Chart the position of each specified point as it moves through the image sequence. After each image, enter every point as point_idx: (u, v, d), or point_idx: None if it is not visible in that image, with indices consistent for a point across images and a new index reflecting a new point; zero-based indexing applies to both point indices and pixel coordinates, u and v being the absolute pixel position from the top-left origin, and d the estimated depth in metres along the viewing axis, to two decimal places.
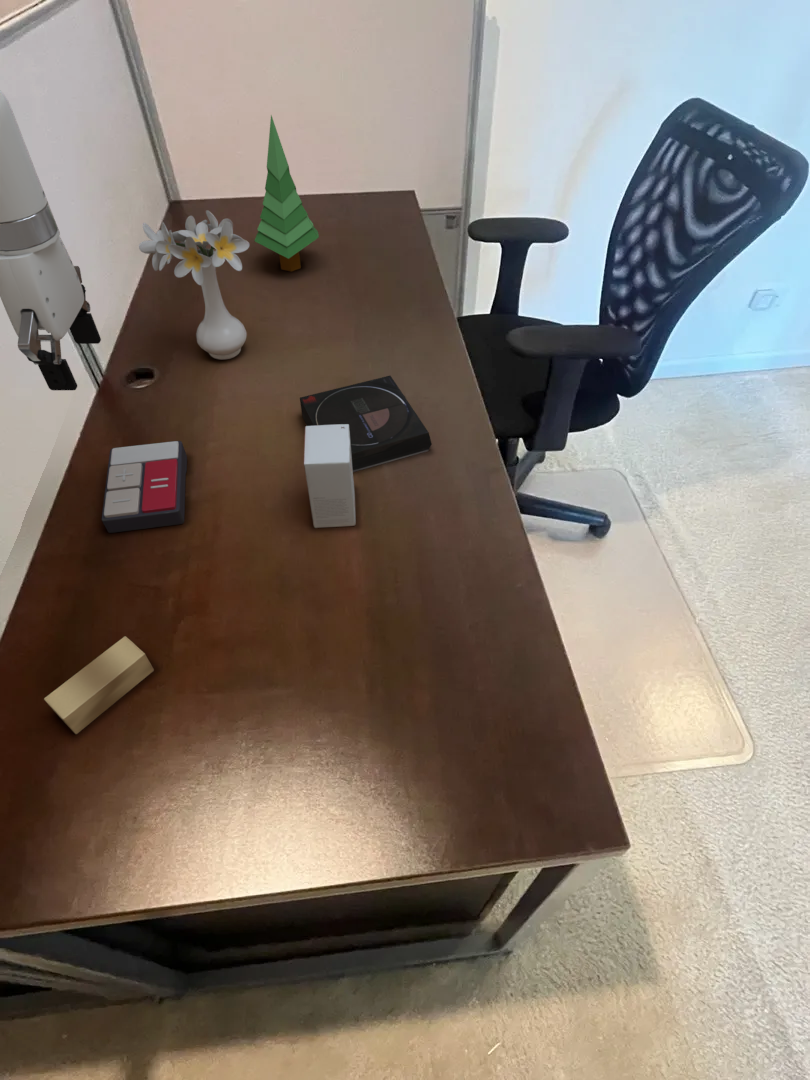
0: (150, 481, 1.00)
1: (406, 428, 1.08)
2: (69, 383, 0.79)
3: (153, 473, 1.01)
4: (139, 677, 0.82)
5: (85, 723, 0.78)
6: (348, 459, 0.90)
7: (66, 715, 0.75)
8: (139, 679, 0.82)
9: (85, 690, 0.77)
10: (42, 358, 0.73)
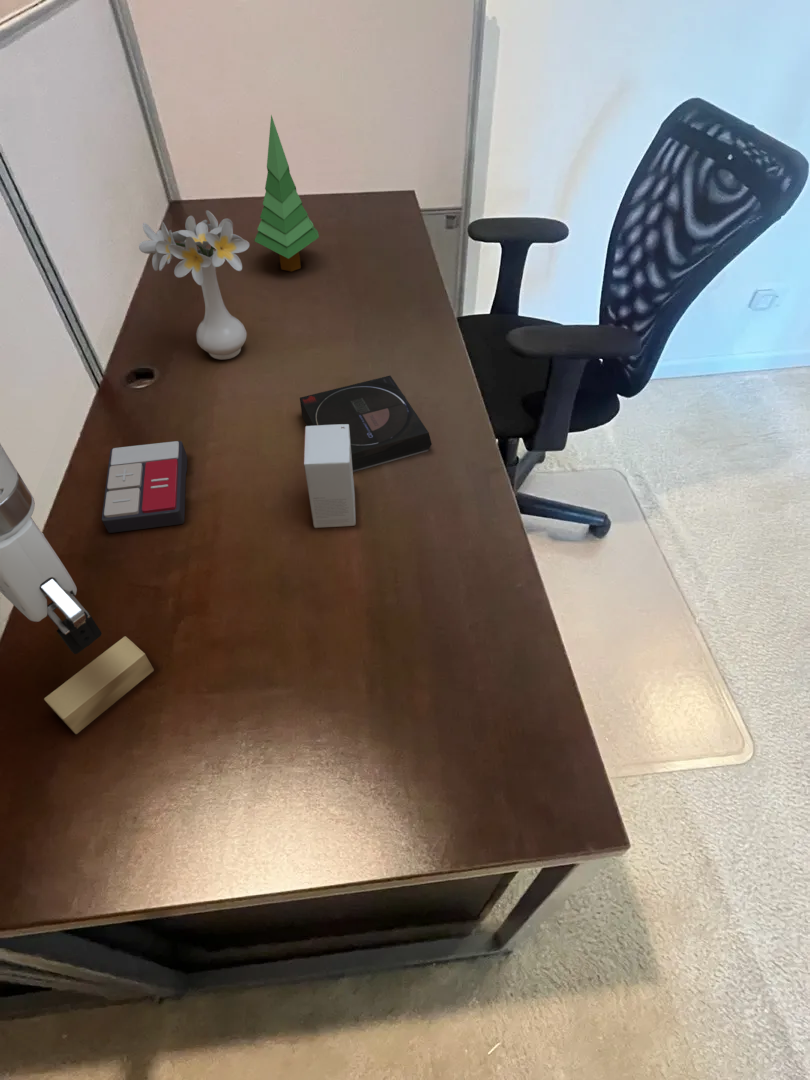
0: (150, 481, 1.00)
1: (406, 428, 1.08)
2: (94, 632, 0.68)
3: (153, 473, 1.01)
4: (139, 677, 0.82)
5: (85, 723, 0.78)
6: (348, 459, 0.90)
7: (66, 715, 0.75)
8: (139, 679, 0.82)
9: (85, 690, 0.77)
10: (87, 618, 0.63)
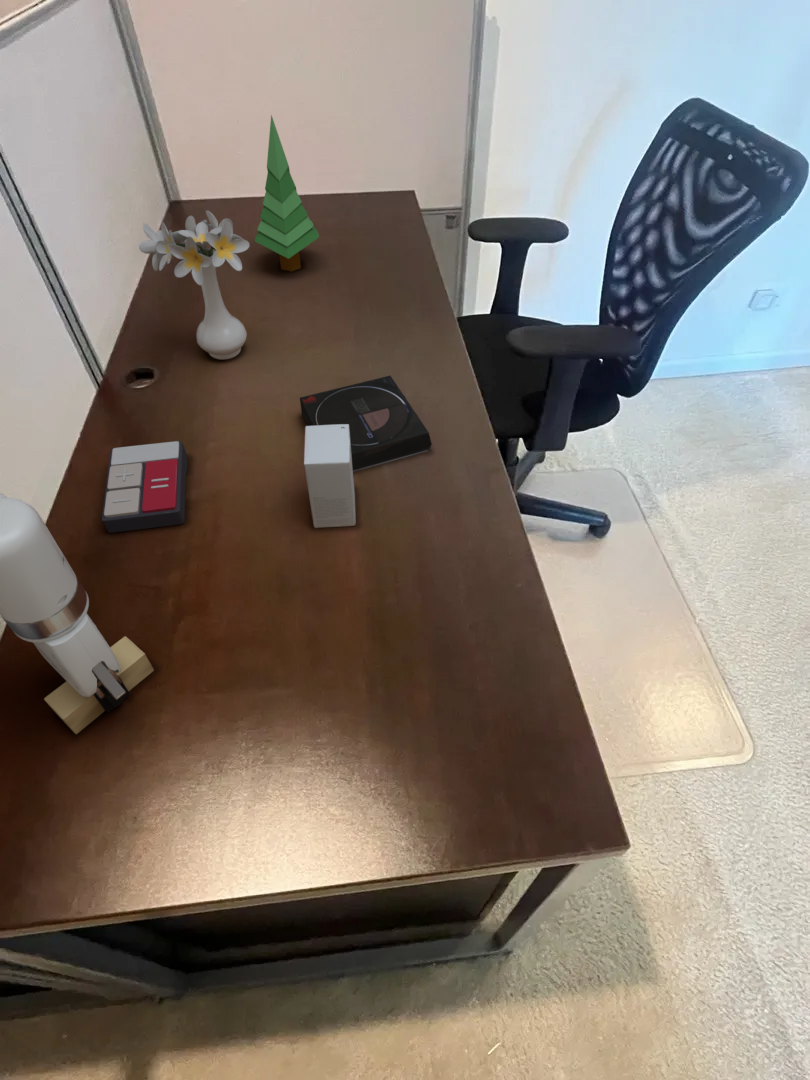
0: (150, 481, 1.00)
1: (406, 428, 1.08)
2: (124, 693, 0.80)
3: (153, 473, 1.01)
4: (139, 677, 0.82)
5: (85, 723, 0.78)
6: (348, 459, 0.90)
7: (66, 715, 0.75)
8: (139, 679, 0.82)
9: None
10: None
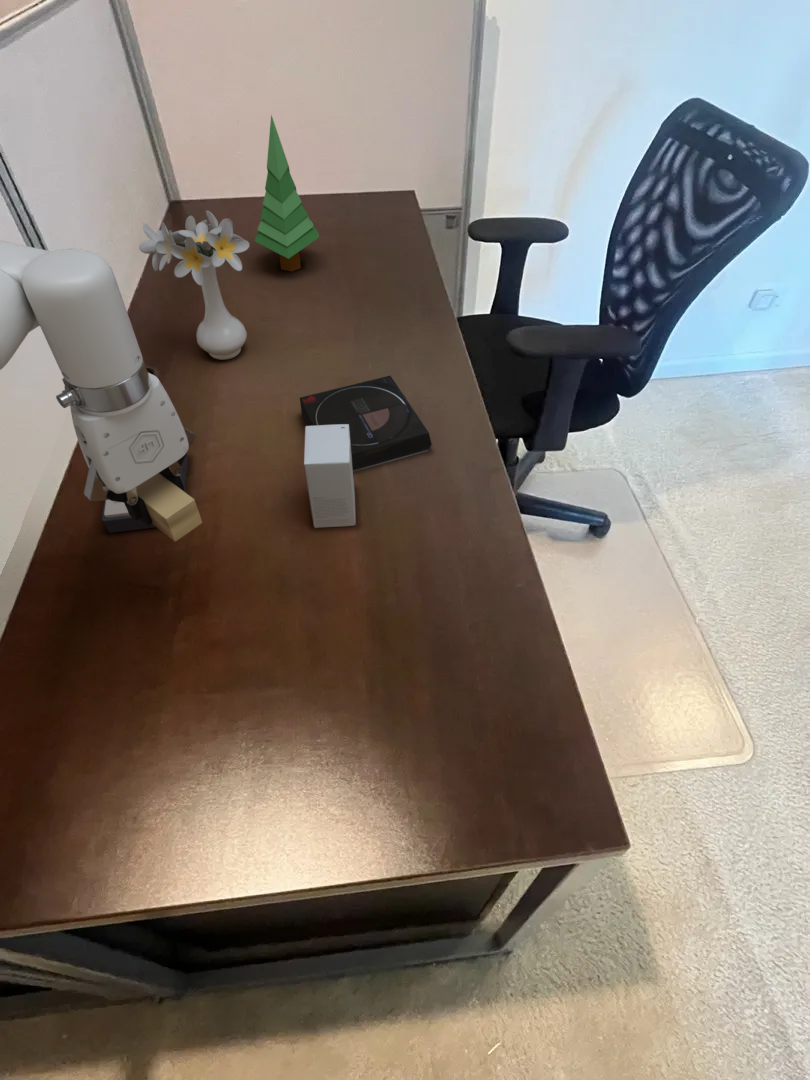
0: None
1: (406, 428, 1.08)
2: None
3: None
4: None
5: None
6: (348, 459, 0.90)
7: (190, 498, 0.76)
8: None
9: (166, 490, 0.77)
10: None
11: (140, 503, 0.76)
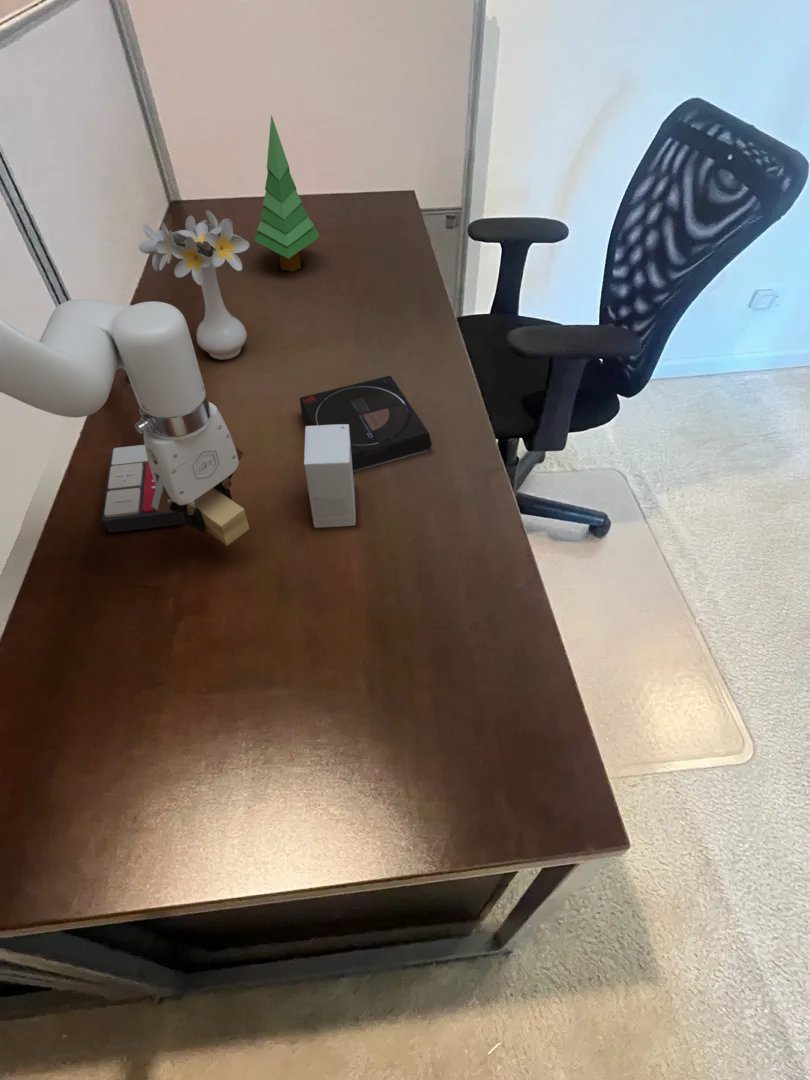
0: (151, 481, 1.00)
1: (406, 428, 1.08)
2: None
3: None
4: None
5: None
6: (348, 459, 0.90)
7: (240, 507, 0.88)
8: None
9: (219, 501, 0.89)
10: None
11: (197, 513, 0.87)
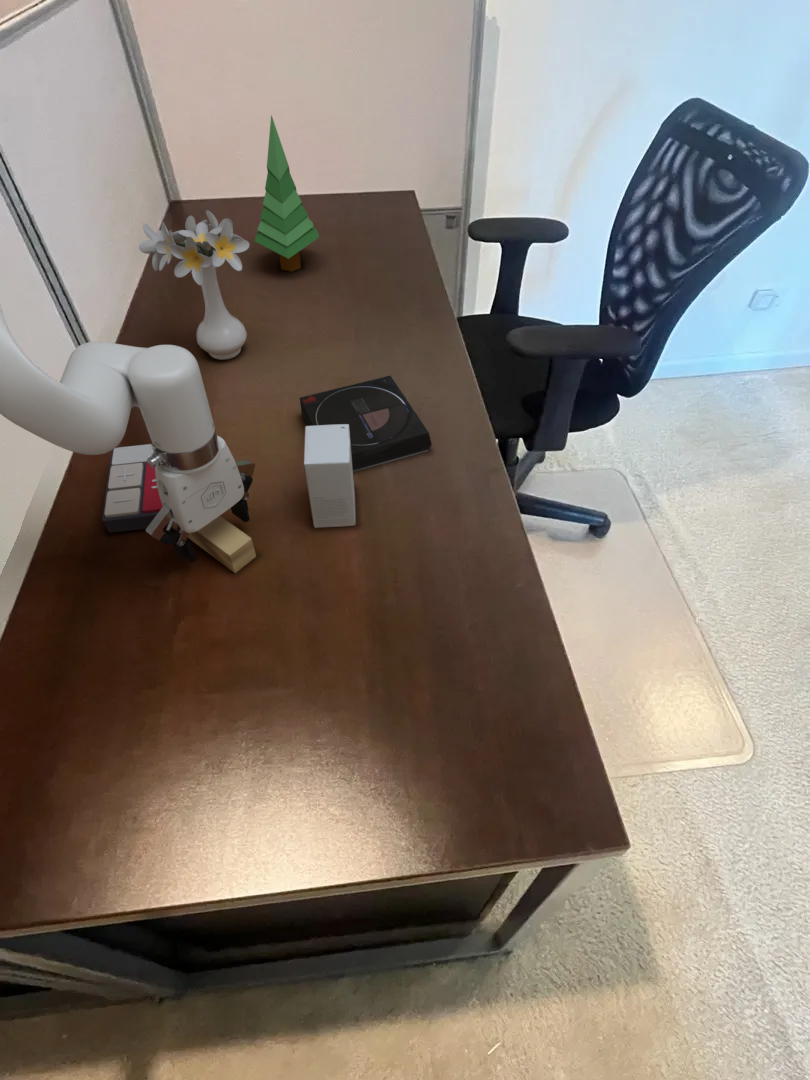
0: (151, 481, 1.00)
1: (406, 428, 1.08)
2: None
3: (154, 473, 1.01)
4: None
5: None
6: (348, 459, 0.90)
7: (248, 537, 0.92)
8: None
9: (227, 530, 0.93)
10: None
11: (187, 544, 0.89)
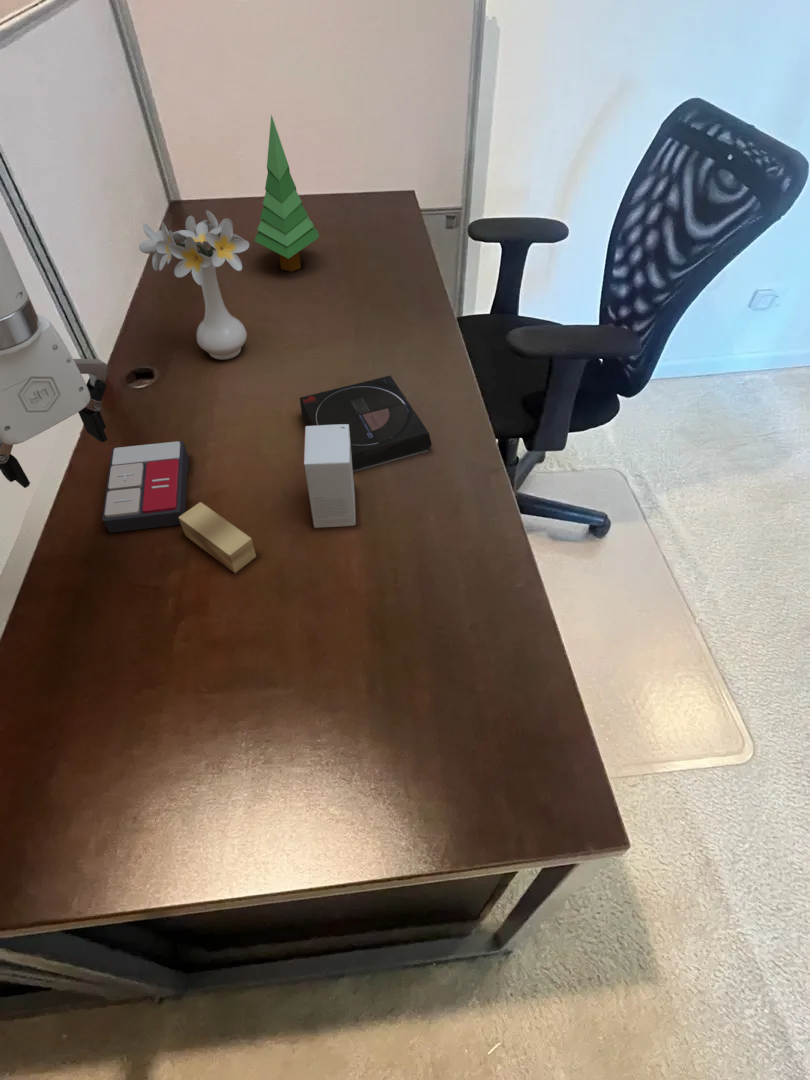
0: (151, 481, 1.00)
1: (406, 428, 1.08)
2: None
3: (154, 473, 1.01)
4: None
5: None
6: (348, 459, 0.90)
7: (248, 537, 0.92)
8: None
9: (227, 530, 0.93)
10: None
11: (11, 462, 0.69)
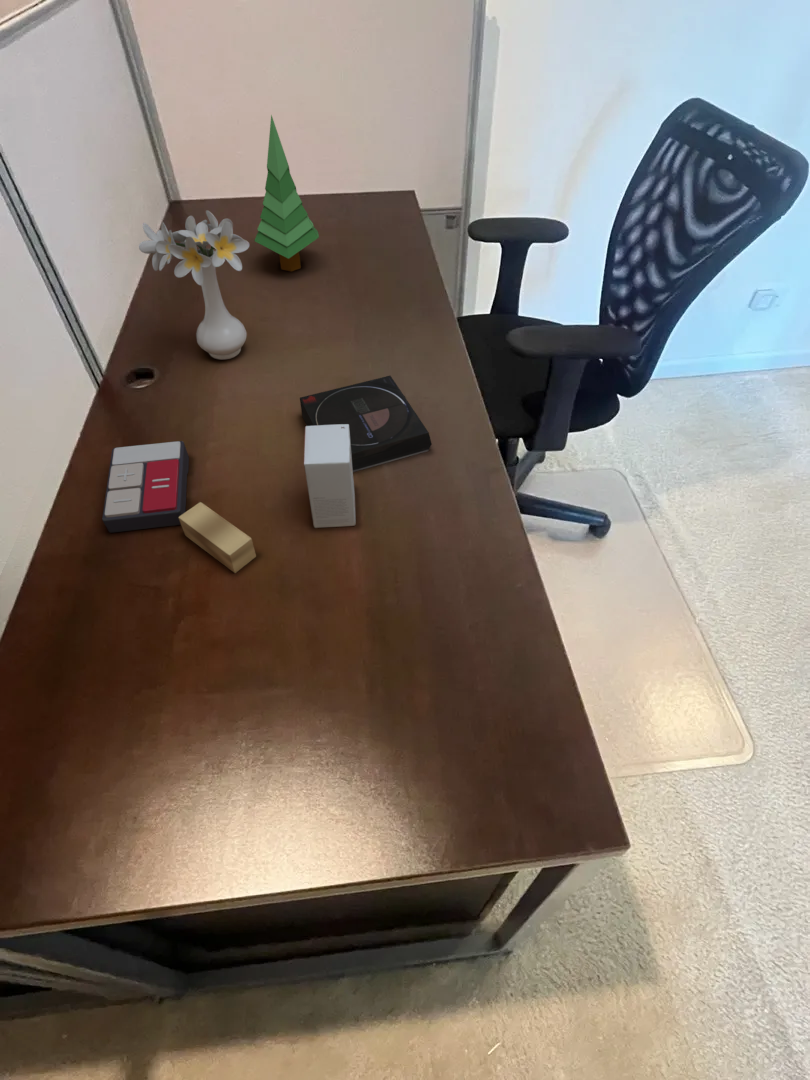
0: (151, 481, 1.00)
1: (406, 428, 1.08)
2: None
3: (154, 473, 1.01)
4: None
5: None
6: (348, 459, 0.90)
7: (248, 537, 0.92)
8: None
9: (227, 530, 0.93)
10: None
11: None
